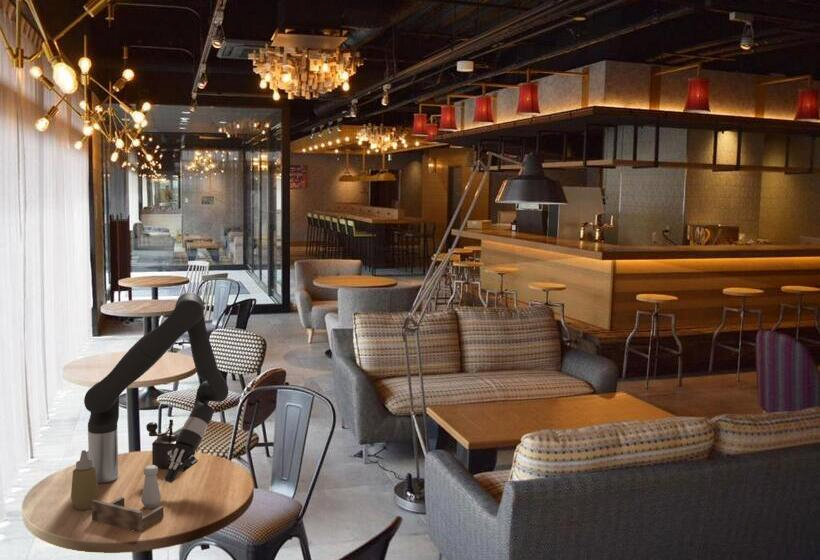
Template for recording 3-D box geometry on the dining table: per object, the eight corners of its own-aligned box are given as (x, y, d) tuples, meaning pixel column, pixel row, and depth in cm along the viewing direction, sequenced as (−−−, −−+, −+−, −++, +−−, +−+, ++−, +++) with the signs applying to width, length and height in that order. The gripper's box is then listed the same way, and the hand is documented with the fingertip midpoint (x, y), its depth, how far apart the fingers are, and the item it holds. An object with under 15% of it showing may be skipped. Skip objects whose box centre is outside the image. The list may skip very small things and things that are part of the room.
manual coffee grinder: (159, 457, 274) (159, 410, 271) (189, 458, 274) (189, 411, 271) (144, 474, 258) (143, 424, 256) (176, 475, 258) (175, 425, 256)
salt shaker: (154, 511, 231) (154, 471, 229) (137, 509, 232) (137, 469, 230) (164, 503, 236) (163, 464, 234) (147, 501, 237) (147, 462, 236)
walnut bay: (92, 520, 223) (91, 501, 222) (119, 505, 234) (119, 487, 233) (139, 532, 217) (139, 513, 216) (165, 516, 227) (165, 498, 226)
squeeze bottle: (81, 514, 227) (79, 457, 224) (65, 507, 231) (63, 451, 229) (104, 505, 234) (103, 450, 231) (88, 498, 238) (87, 444, 235)
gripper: (170, 425, 250) (146, 473, 240) (203, 431, 245) (179, 480, 235) (181, 435, 255) (157, 482, 246) (213, 441, 250) (190, 490, 241)
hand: (168, 481), depth 240 cm, fingers closed
